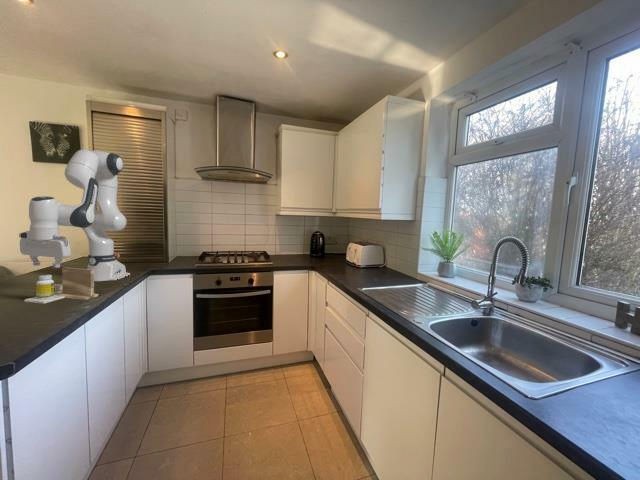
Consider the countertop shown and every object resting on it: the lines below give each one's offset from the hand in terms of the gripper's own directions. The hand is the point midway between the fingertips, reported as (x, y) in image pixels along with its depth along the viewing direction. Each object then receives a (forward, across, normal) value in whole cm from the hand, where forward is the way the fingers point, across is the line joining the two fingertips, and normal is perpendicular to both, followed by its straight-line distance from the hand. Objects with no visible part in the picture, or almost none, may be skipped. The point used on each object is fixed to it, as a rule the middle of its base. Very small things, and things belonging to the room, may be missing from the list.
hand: (46, 266), depth 118 cm
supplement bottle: (+14, 0, +1) cm, 14 cm away
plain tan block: (+15, +5, -7) cm, 17 cm away
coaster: (+14, 0, +1) cm, 15 cm away
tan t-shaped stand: (+15, -8, -6) cm, 18 cm away
